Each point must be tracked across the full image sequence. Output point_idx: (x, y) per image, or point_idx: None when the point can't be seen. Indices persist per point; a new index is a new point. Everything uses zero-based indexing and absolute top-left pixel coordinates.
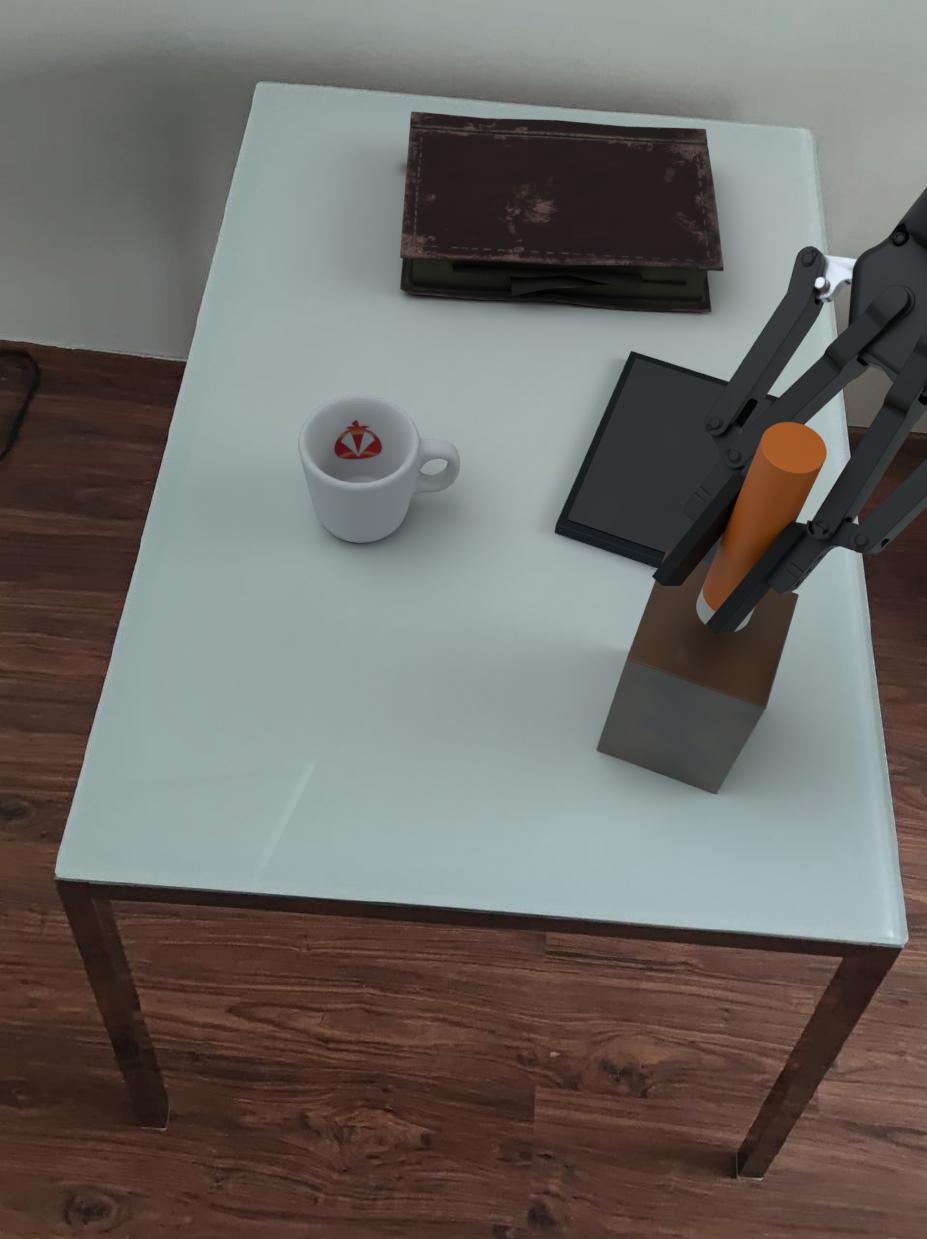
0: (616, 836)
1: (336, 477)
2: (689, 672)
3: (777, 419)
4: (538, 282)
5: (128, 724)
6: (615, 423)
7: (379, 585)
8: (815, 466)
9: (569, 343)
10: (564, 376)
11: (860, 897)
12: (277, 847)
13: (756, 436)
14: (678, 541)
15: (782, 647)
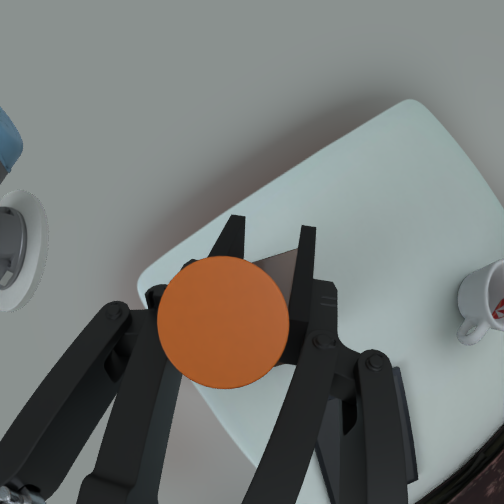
0: (259, 234)
1: (492, 297)
2: (260, 266)
3: (298, 408)
4: (475, 466)
5: (450, 144)
6: (405, 442)
7: (442, 269)
8: (163, 305)
9: (445, 459)
10: (439, 444)
11: (149, 286)
12: (373, 136)
13: (312, 374)
14: (335, 408)
15: None
